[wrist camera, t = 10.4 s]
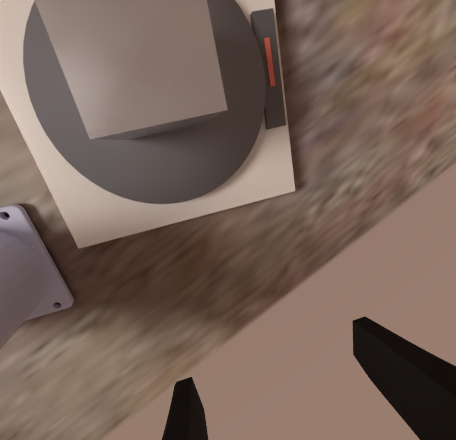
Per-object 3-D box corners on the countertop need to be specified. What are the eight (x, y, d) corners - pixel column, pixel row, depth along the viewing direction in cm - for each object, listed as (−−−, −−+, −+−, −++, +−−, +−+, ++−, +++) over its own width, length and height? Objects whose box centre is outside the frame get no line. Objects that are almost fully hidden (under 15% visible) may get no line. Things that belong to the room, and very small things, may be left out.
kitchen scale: (87, 239, 16) (72, 255, 14) (-45, -40, 11) (-104, -87, 9) (286, 187, 18) (302, 194, 16) (254, -76, 13) (270, -123, 11)
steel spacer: (128, 140, 13) (89, 139, 7) (95, 44, 11) (14, -50, 6) (206, 122, 13) (227, 110, 8) (185, 29, 12) (193, -71, 6)
